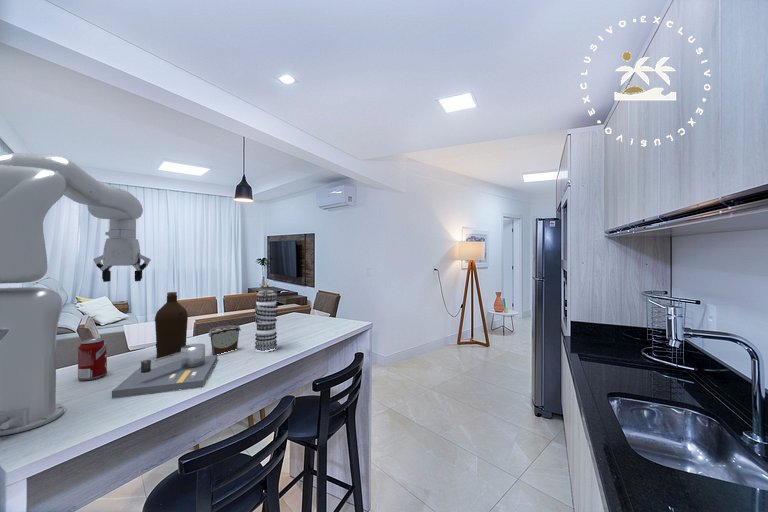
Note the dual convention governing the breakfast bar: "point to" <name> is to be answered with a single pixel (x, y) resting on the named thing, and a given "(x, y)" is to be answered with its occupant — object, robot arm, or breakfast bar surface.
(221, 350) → the food container
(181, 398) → the breakfast bar surface
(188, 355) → the metal ladle
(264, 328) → the decorative candle
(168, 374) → the grey flat square slab
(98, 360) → the soda can
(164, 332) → the olive oil
